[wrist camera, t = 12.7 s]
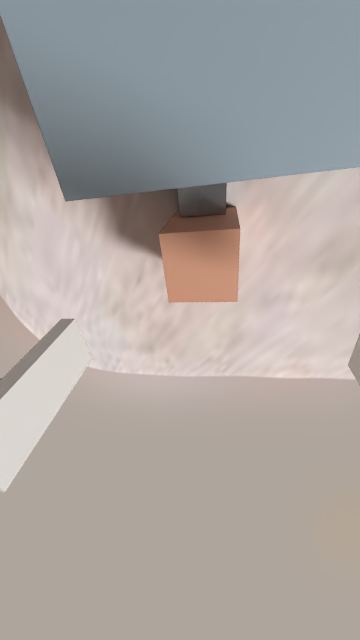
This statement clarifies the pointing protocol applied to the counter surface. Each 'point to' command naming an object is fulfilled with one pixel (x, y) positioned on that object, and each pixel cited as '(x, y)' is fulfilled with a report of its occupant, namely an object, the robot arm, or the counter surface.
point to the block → (201, 257)
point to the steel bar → (202, 200)
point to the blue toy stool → (189, 89)
